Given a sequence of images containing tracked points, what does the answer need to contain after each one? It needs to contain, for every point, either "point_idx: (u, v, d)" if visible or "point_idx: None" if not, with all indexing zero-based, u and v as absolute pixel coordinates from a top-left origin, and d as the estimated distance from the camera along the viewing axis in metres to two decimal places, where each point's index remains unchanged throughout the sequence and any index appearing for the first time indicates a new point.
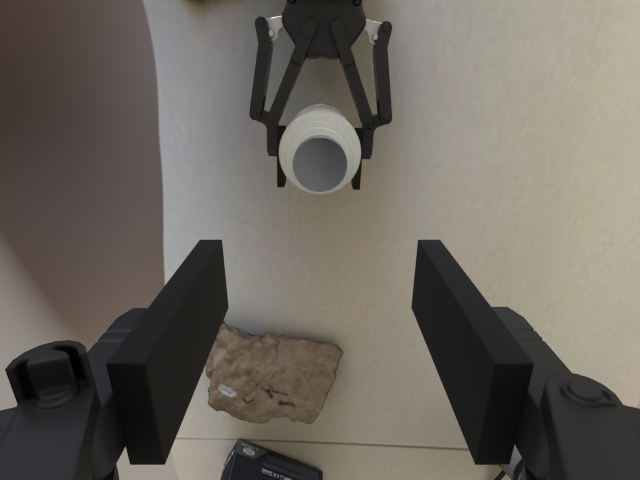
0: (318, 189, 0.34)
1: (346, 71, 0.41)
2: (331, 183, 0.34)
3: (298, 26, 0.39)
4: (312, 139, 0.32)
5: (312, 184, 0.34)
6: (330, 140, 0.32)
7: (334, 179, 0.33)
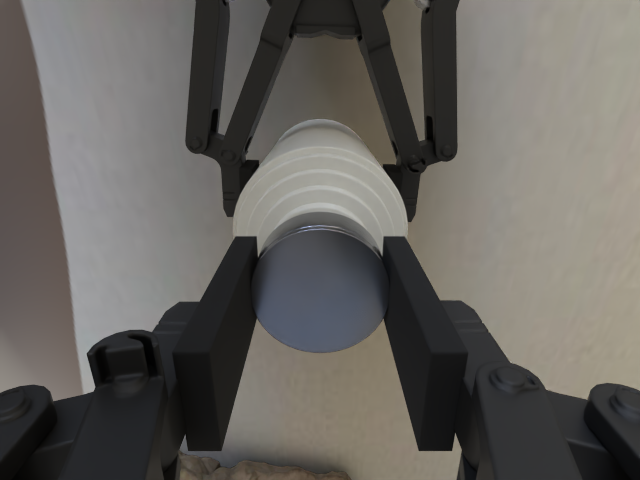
0: (316, 347, 0.14)
1: (372, 60, 0.21)
2: (349, 335, 0.13)
3: None
4: (300, 234, 0.12)
5: (301, 337, 0.13)
6: (348, 236, 0.12)
7: (357, 327, 0.13)
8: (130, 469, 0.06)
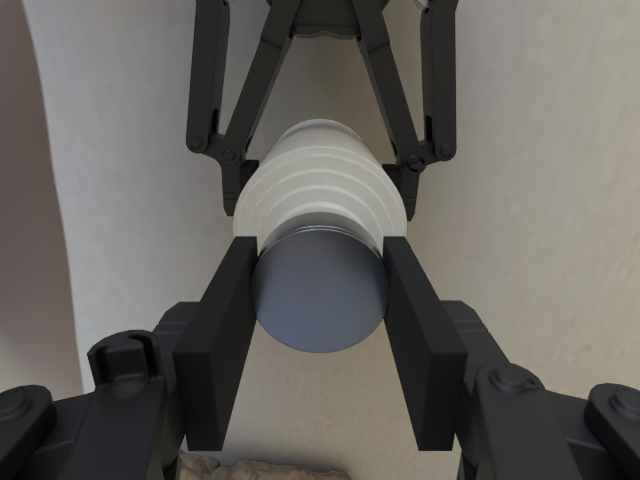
0: (382, 278, 0.13)
1: (372, 60, 0.21)
2: (355, 254, 0.12)
3: None
4: (267, 329, 0.13)
5: (373, 296, 0.13)
6: (252, 291, 0.13)
7: (343, 249, 0.12)
8: (130, 469, 0.06)
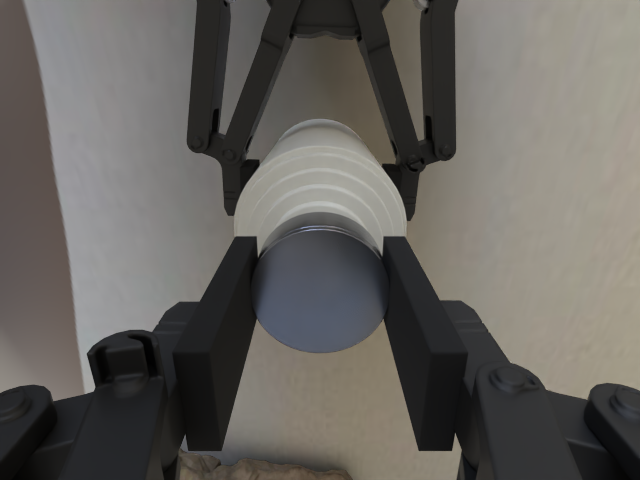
0: (279, 248, 0.12)
1: (372, 60, 0.21)
2: (265, 280, 0.13)
3: None
4: (374, 326, 0.13)
5: (301, 248, 0.12)
6: (339, 348, 0.14)
7: (266, 292, 0.13)
8: (130, 468, 0.06)
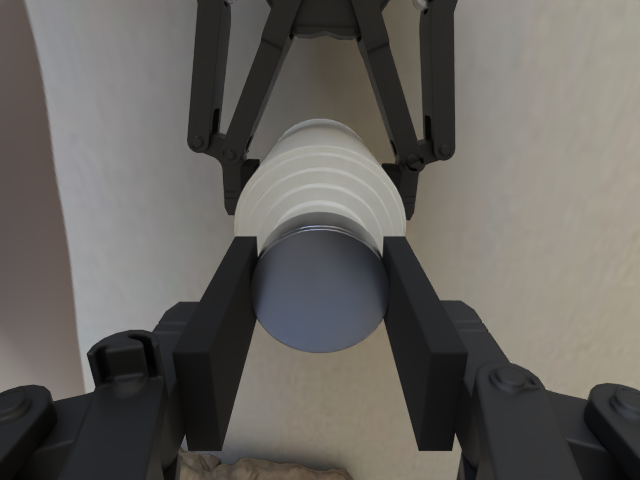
0: (287, 340, 0.13)
1: (371, 61, 0.21)
2: (322, 342, 0.14)
3: None
4: (336, 233, 0.12)
5: (279, 324, 0.13)
6: (375, 257, 0.12)
7: (334, 338, 0.13)
8: (130, 469, 0.06)
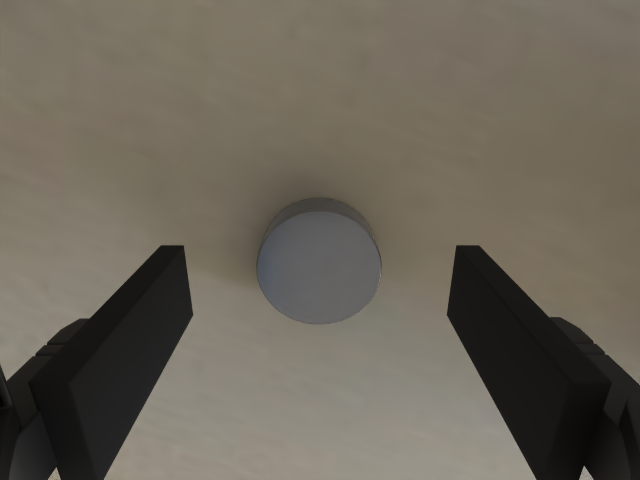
0: (289, 312, 0.15)
1: None
2: (321, 314, 0.15)
3: None
4: (333, 215, 0.14)
5: (283, 298, 0.15)
6: (368, 236, 0.14)
7: (332, 311, 0.15)
8: None
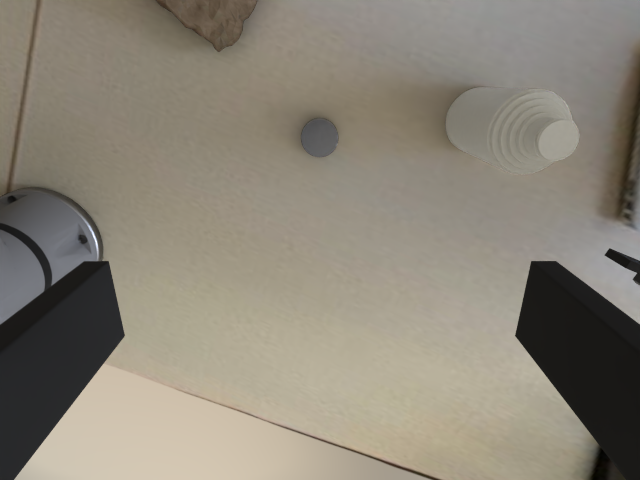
0: (310, 152, 0.49)
1: None
2: (320, 153, 0.49)
3: None
4: (323, 120, 0.48)
5: (308, 147, 0.49)
6: (333, 127, 0.48)
7: (323, 152, 0.49)
8: None
